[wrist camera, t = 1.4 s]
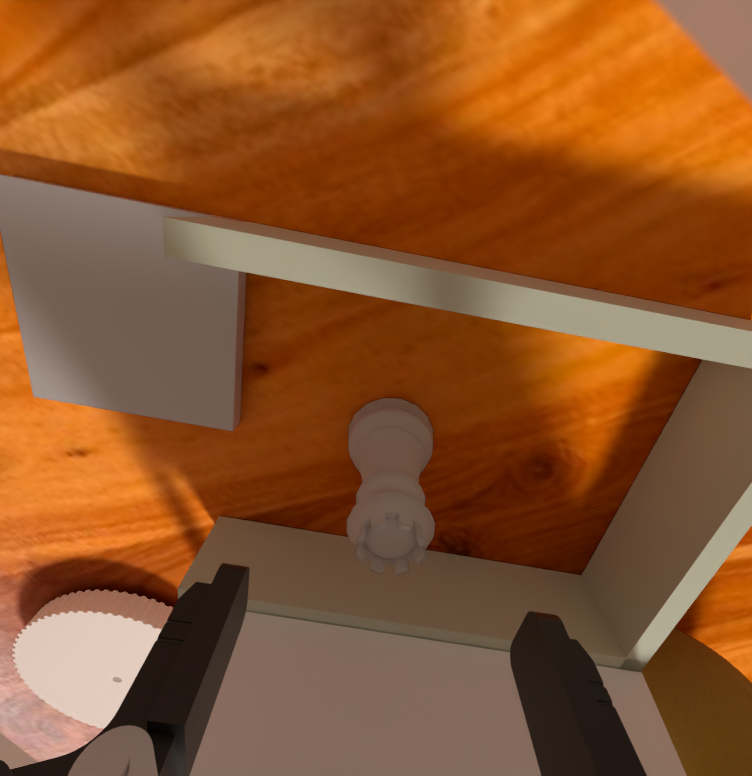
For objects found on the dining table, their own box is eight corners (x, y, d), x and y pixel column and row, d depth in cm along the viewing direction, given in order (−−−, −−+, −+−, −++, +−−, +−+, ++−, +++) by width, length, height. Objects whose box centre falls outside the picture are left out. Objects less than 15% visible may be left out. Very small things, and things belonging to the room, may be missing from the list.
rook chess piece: (357, 471, 22) (340, 599, 14) (340, 400, 20) (312, 505, 13) (436, 460, 21) (461, 588, 14) (427, 387, 19) (449, 489, 12)
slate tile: (248, 221, 17) (240, 221, 16) (240, 421, 21) (233, 431, 20) (11, 175, 16) (-12, 172, 15) (49, 388, 20) (33, 396, 19)
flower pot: (559, 620, 26) (637, 805, 18) (699, 597, 25) (853, 786, 16) (573, 695, 29) (644, 881, 21) (697, 678, 28) (825, 869, 20)
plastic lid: (108, 544, 25) (80, 577, 23) (269, 651, 29) (258, 689, 27) (9, 634, 29) (-24, 670, 27) (162, 717, 33) (144, 755, 31)
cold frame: (748, 319, 18) (1383, 498, 6) (554, 650, 28) (667, 951, 16) (227, 217, 17) (-116, 214, 5) (218, 599, 27) (91, 881, 15)
